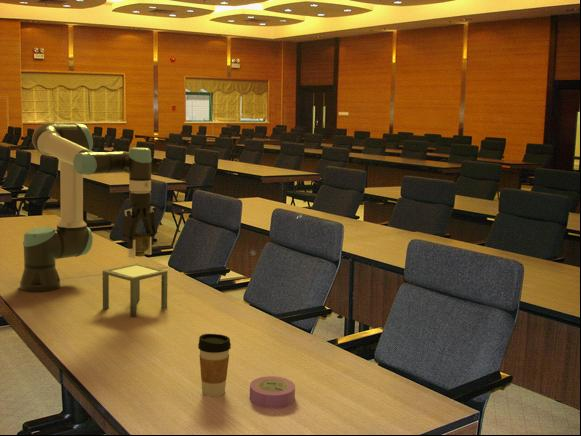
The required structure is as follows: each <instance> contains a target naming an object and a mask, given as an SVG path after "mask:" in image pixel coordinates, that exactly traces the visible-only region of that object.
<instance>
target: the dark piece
mask: <svg viewBox="0 0 581 436" xmlns="http://www.w3.org/2000/svg"><path fill="white" fill-rule="evenodd" d="M130 236H131V235H130ZM134 240H135V257H137V258H139V257H140V258H142V257H144V256H145V255H146V254H145V251H147V250H148V248H149V243H150V234H149V233H148V234H146V232H142V233H141V232H138V233H137V231H136V232H135V235H134Z"/></svg>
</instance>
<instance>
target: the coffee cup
mask: <svg viewBox="0 0 581 436" xmlns="http://www.w3.org/2000/svg"><path fill="white" fill-rule="evenodd" d="M231 346H232V344H231V339H230V337H229V336H227V335H223V334H217V333H203V334H201V335H199V338H198V344H197V348H198V350H199V356H198V357H199V368H200V378H201V379H200V380H201V392H202V394H203V395H204V396H206V397H212V398H213V397H220V396H222V395H224V394H225V392H226V384H227V375H228V369H229V361H230V359H229V358H230V354H229V353H230V350H231Z"/></svg>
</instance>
